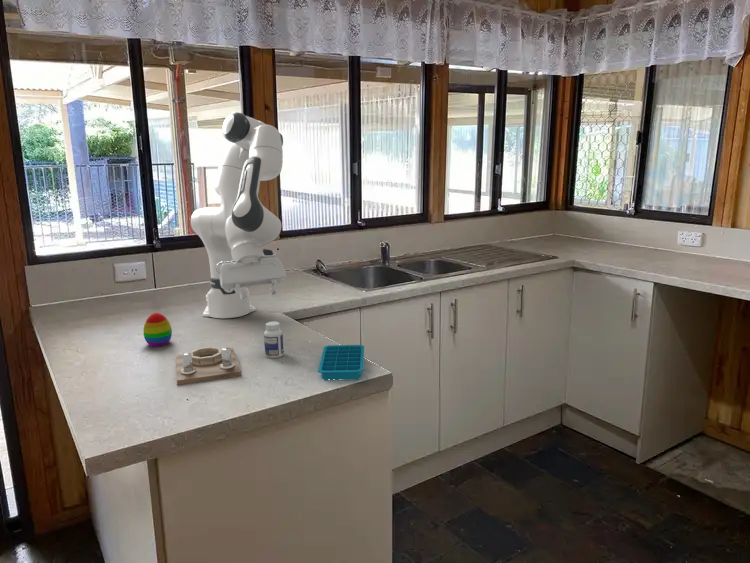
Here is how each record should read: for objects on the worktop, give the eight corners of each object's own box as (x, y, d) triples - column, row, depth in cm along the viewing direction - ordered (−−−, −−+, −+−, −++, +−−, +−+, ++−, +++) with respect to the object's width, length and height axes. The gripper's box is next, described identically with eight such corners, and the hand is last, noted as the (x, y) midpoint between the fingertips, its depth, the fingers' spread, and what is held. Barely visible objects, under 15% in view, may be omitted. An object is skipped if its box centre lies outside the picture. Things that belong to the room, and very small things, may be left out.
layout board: (176, 358, 161) (175, 348, 160) (233, 351, 166) (232, 341, 166) (177, 384, 143) (176, 373, 142) (240, 375, 148) (240, 364, 147)
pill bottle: (275, 350, 166) (273, 319, 164) (287, 354, 163) (285, 322, 161) (261, 356, 162) (259, 324, 160) (273, 360, 159) (271, 327, 157)
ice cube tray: (318, 383, 143) (317, 372, 143) (324, 355, 163) (324, 345, 162) (363, 382, 143) (362, 371, 143) (364, 354, 163) (364, 344, 162)
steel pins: (180, 370, 149) (178, 352, 148) (233, 362, 154) (232, 345, 153) (180, 375, 146) (178, 357, 144) (235, 368, 150) (234, 350, 149)
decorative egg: (178, 341, 176) (175, 311, 173) (156, 349, 169) (153, 318, 167) (161, 338, 180) (157, 308, 177) (139, 345, 173) (135, 314, 171)
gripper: (215, 256, 168) (226, 294, 162) (280, 250, 178) (292, 285, 172) (213, 268, 173) (223, 306, 167) (276, 261, 183) (288, 296, 177)
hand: (259, 295), depth 170 cm, fingers open, 8 cm apart
